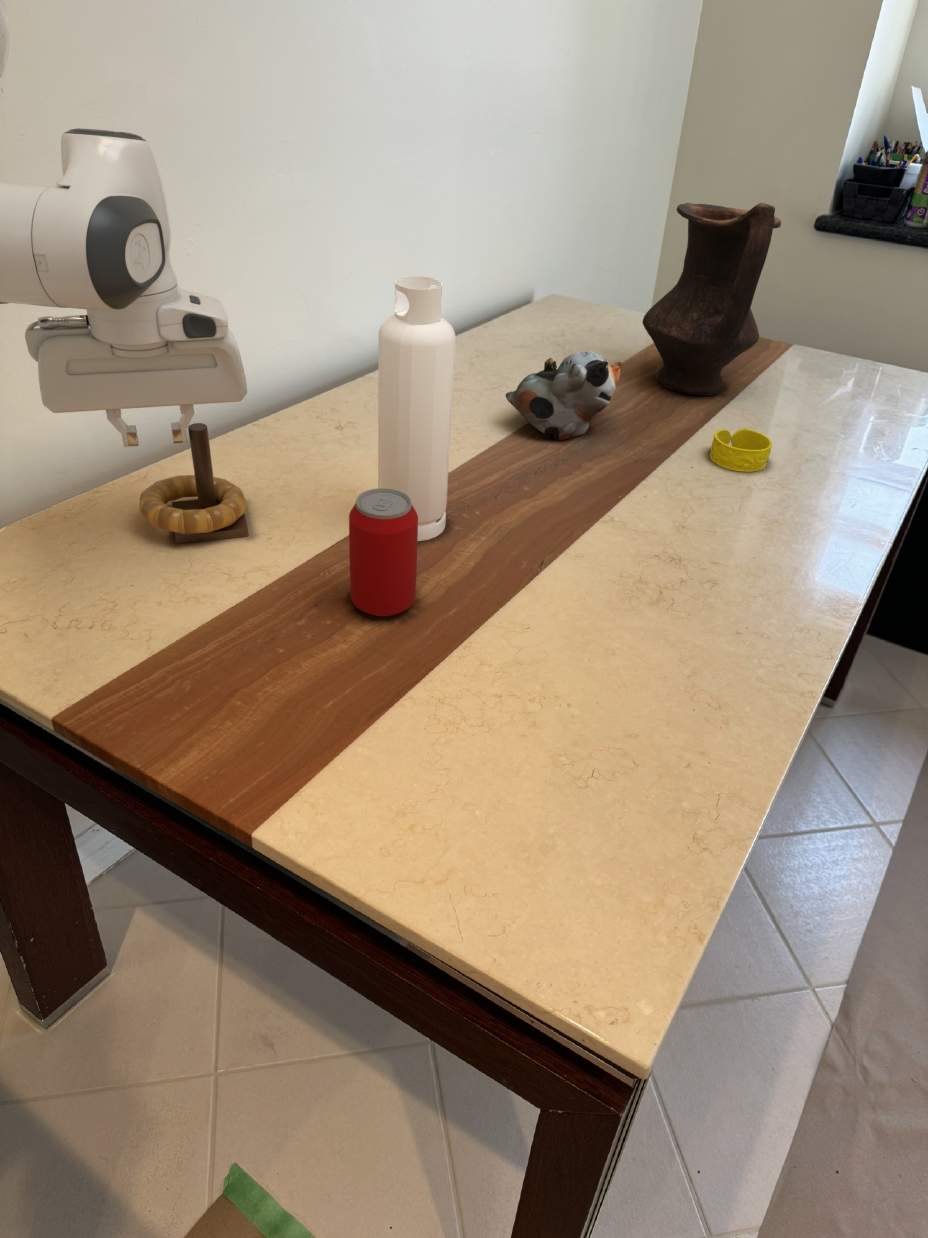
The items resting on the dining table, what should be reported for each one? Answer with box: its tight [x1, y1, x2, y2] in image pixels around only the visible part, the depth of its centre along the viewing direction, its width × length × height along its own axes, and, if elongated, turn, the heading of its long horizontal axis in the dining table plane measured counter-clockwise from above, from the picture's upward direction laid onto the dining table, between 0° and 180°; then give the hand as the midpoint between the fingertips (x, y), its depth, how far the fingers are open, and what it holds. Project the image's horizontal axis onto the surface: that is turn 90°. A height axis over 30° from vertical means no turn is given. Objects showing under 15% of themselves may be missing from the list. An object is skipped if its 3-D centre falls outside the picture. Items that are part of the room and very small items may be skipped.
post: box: [171, 422, 250, 544], centre depth 98 cm, size 8×8×12 cm
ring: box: [139, 474, 247, 534], centre depth 100 cm, size 12×12×3 cm
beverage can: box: [348, 487, 418, 617], centre depth 88 cm, size 7×7×12 cm
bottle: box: [377, 275, 457, 542], centre depth 96 cm, size 8×8×28 cm
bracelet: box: [709, 428, 773, 473], centre depth 123 cm, size 7×8×3 cm
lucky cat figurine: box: [505, 350, 623, 441], centre depth 126 cm, size 15×12×14 cm
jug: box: [642, 202, 782, 396], centre depth 137 cm, size 21×18×30 cm
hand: (156, 442), depth 94 cm, fingers open, 4 cm apart
